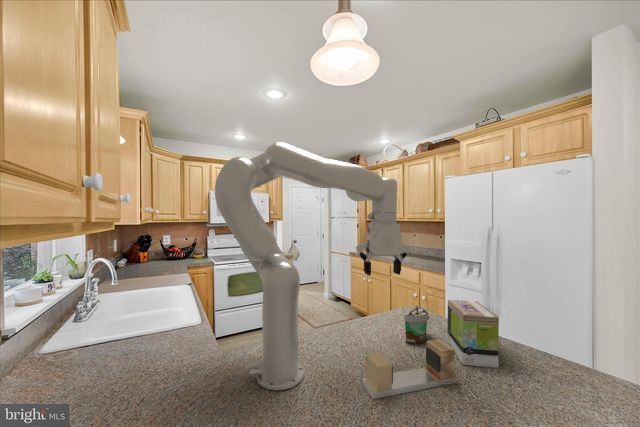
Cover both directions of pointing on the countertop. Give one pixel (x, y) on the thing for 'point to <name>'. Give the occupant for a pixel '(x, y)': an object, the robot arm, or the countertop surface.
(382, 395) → the rail
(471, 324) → the tea box
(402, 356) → the countertop surface
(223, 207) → the robot arm
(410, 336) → the food container
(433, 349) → the block
